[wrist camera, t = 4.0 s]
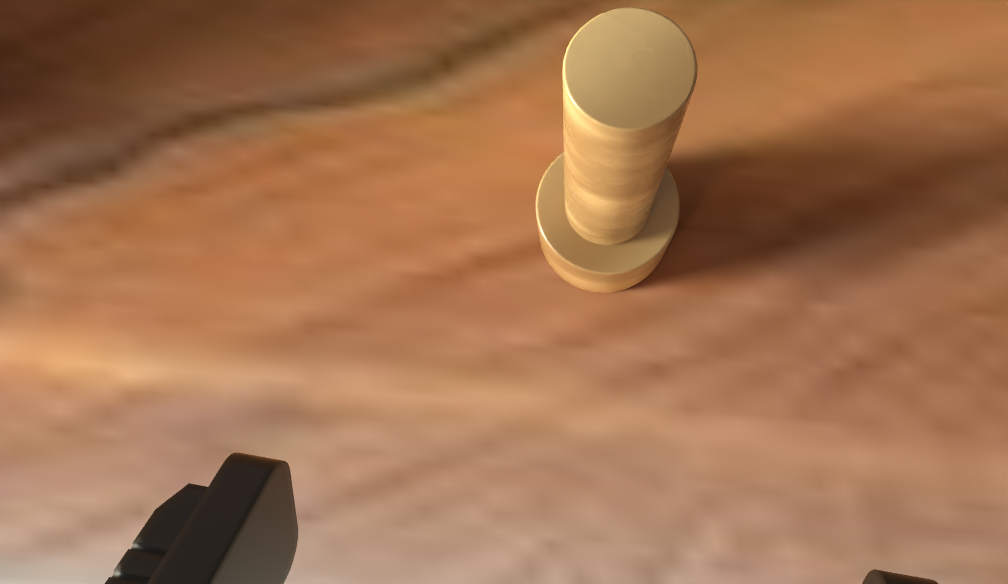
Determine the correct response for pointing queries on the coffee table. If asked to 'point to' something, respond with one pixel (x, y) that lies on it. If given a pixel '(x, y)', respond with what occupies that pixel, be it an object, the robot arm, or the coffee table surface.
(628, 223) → the pestle
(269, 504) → the robot arm
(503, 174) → the coffee table surface
